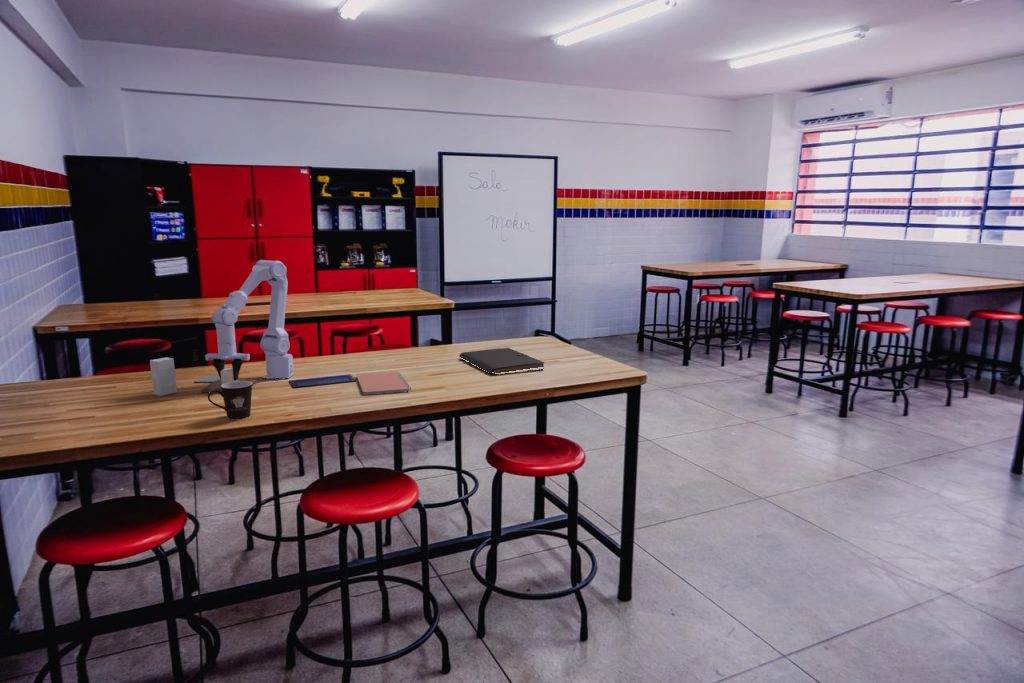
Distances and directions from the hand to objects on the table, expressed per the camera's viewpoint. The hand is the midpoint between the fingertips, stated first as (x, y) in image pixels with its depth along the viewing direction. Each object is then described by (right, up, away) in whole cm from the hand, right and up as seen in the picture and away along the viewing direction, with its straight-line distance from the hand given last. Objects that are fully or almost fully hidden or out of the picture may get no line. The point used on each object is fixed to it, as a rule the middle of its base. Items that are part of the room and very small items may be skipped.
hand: (229, 379), depth 220 cm
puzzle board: (0, -3, 0) cm, 3 cm away
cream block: (0, -2, 0) cm, 2 cm away
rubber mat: (-12, -1, +12) cm, 16 cm away
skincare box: (-19, -4, -7) cm, 21 cm away
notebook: (+52, -3, +9) cm, 53 cm away
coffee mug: (+16, -9, -31) cm, 36 cm away
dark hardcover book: (+95, +3, +44) cm, 105 cm away
